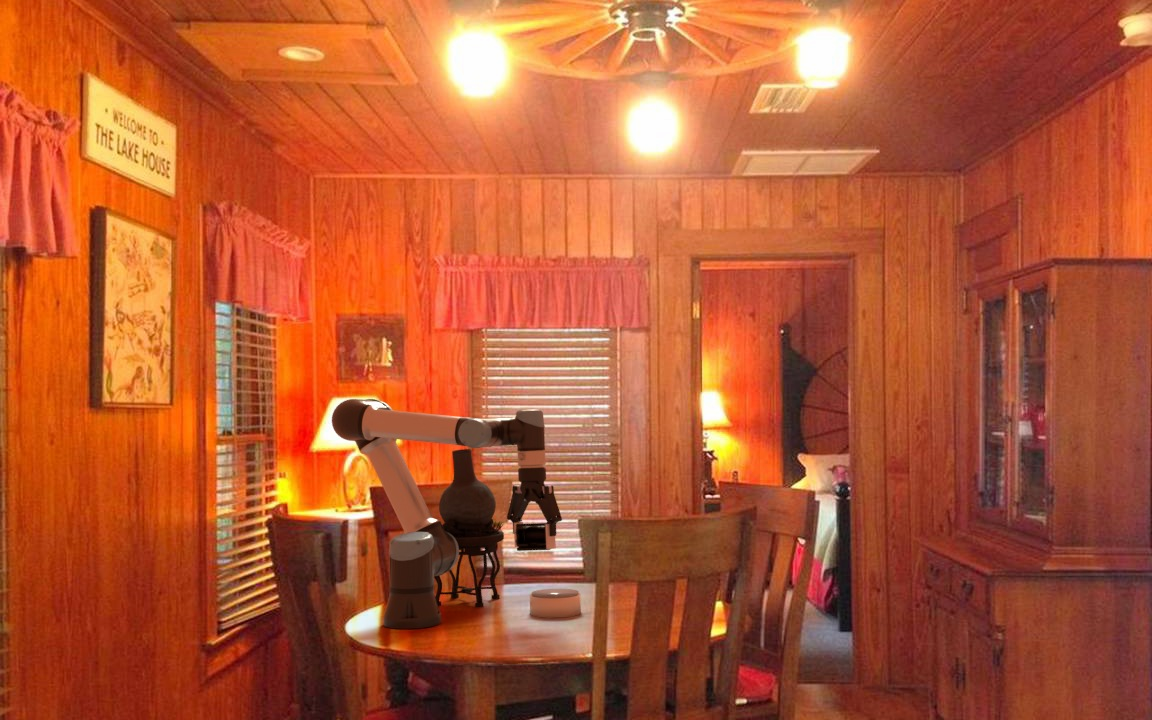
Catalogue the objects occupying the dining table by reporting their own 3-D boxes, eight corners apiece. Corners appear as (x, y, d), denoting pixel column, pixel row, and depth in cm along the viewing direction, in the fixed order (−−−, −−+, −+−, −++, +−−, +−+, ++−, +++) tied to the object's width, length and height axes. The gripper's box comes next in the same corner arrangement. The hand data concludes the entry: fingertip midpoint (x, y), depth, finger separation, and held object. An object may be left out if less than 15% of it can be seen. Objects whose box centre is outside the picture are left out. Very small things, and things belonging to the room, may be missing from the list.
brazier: (519, 598, 317) (517, 447, 319) (475, 610, 297) (472, 450, 300) (459, 593, 328) (457, 448, 331) (412, 605, 309) (410, 450, 311)
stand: (519, 613, 291) (519, 593, 291) (554, 606, 301) (553, 586, 302) (556, 619, 282) (556, 598, 282) (591, 611, 292) (590, 591, 292)
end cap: (555, 546, 288) (554, 521, 288) (552, 549, 281) (551, 524, 281) (518, 548, 289) (517, 523, 289) (514, 551, 282) (513, 525, 282)
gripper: (492, 467, 292) (494, 546, 291) (552, 467, 275) (556, 551, 274) (512, 466, 298) (515, 543, 296) (573, 465, 281) (576, 548, 279)
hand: (534, 547), depth 285 cm, fingers closed on end cap, 12 cm apart
